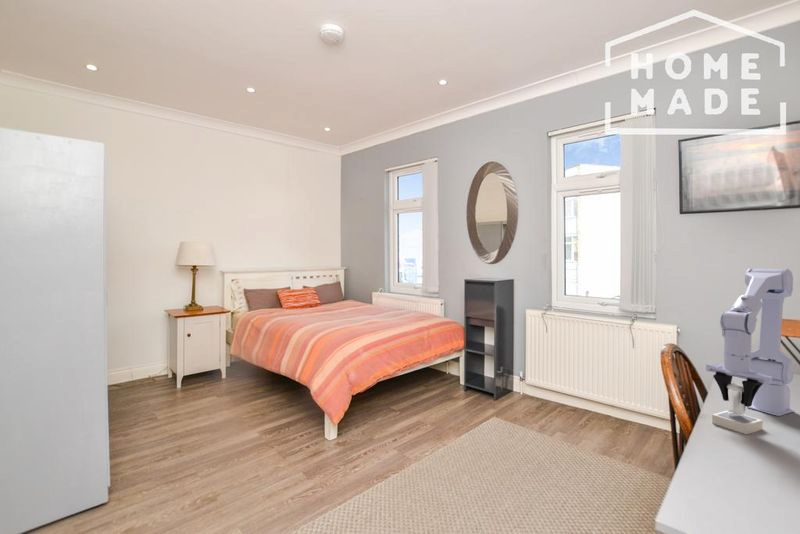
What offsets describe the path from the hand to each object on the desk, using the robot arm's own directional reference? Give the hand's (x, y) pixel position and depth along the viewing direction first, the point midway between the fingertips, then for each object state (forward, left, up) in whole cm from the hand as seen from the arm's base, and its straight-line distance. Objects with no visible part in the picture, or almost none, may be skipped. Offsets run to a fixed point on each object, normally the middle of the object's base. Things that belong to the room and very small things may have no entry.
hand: (737, 402), depth 108 cm
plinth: (0, 0, -6) cm, 6 cm away
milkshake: (0, 0, -4) cm, 4 cm away
